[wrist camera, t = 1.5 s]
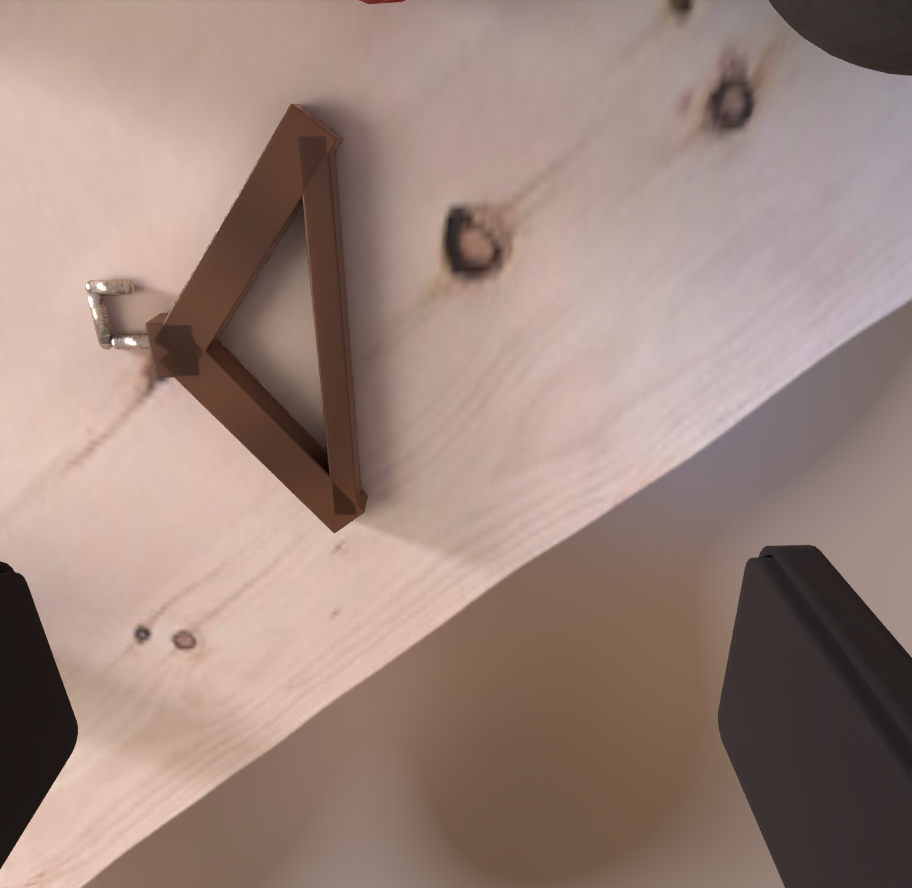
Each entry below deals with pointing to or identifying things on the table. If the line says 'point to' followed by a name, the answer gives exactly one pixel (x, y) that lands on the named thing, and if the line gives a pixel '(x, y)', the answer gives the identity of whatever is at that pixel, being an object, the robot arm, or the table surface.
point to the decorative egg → (856, 30)
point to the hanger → (221, 291)
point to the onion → (380, 1)
